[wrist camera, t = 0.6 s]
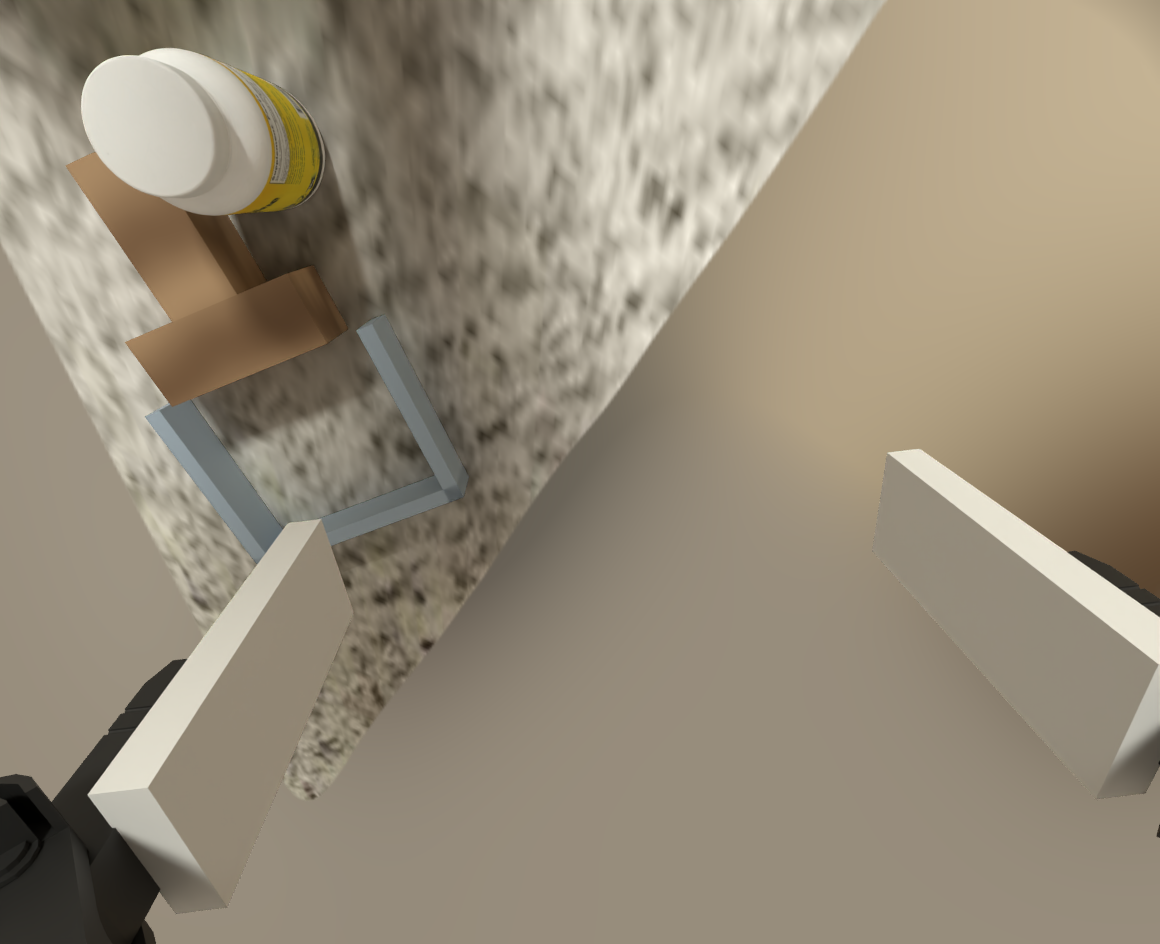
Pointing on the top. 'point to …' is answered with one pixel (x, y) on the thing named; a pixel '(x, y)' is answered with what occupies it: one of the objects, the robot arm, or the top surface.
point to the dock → (261, 529)
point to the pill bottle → (202, 133)
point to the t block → (206, 291)
